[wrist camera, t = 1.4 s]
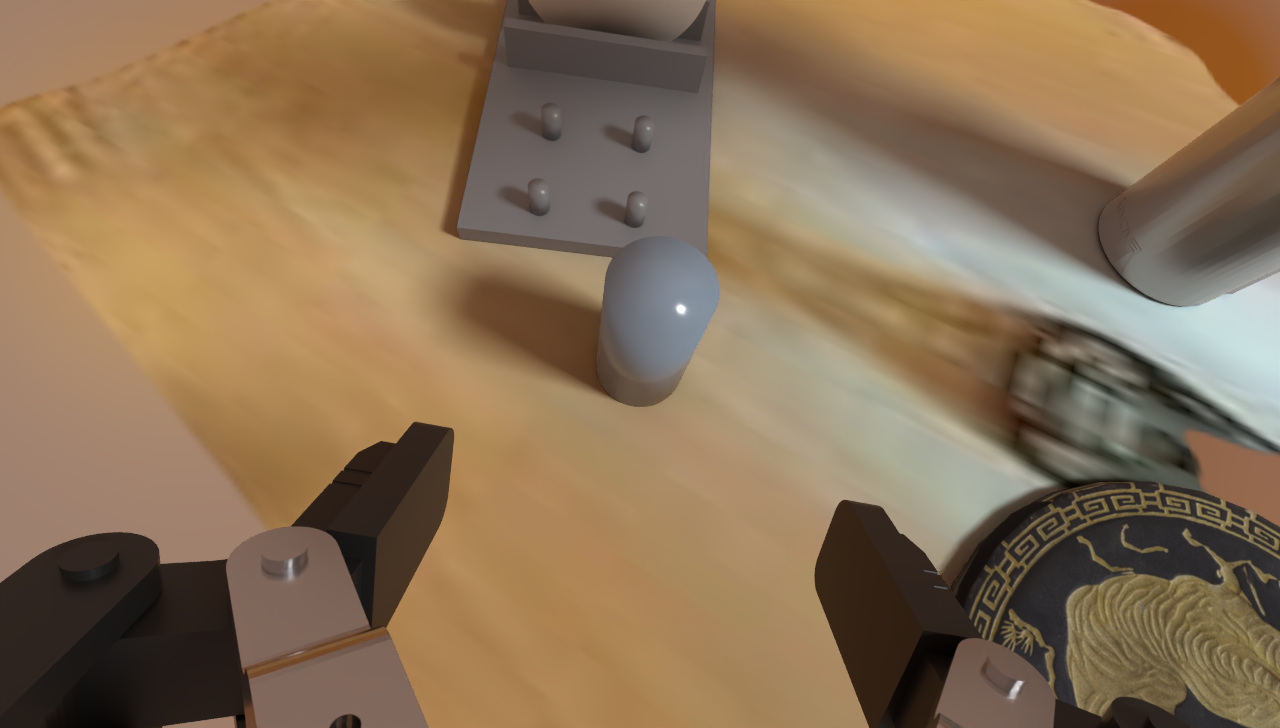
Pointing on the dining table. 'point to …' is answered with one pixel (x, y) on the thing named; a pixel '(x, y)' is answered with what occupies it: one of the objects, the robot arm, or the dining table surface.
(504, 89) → the dish rack
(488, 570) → the dining table surface
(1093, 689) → the decorative plate
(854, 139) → the dining table surface
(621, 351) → the grey dome-topped cylinder
